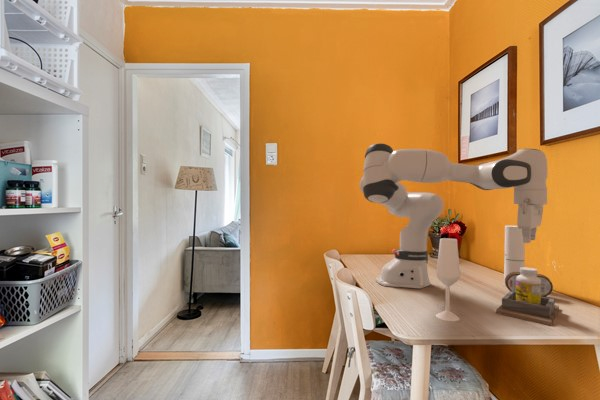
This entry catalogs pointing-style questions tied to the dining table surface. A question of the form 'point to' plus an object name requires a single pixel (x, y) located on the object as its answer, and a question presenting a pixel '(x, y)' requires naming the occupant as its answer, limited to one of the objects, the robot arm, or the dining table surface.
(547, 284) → the tin
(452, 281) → the champagne flute
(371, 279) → the dining table surface
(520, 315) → the holder
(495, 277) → the dining table surface
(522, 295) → the supplement bottle
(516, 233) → the cylindrical container
